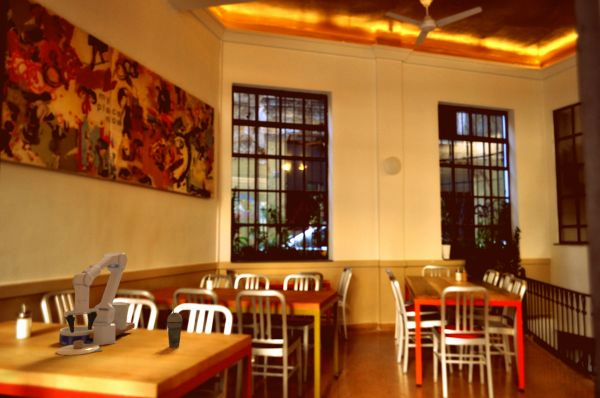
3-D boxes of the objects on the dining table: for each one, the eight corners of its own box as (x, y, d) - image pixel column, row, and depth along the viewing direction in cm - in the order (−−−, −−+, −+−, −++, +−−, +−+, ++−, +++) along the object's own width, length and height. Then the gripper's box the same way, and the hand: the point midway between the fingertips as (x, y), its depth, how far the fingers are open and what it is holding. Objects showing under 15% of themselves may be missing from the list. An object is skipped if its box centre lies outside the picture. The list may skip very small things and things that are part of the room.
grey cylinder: (107, 326, 234) (108, 302, 235) (126, 326, 237) (128, 302, 238) (105, 330, 225) (107, 305, 226) (126, 329, 228) (127, 305, 229)
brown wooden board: (82, 338, 217) (82, 331, 217) (112, 327, 246) (112, 320, 247) (108, 339, 216) (109, 332, 216) (135, 328, 246) (135, 322, 246)
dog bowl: (95, 343, 216) (96, 330, 217) (59, 346, 208) (60, 333, 209) (92, 337, 229) (93, 325, 230) (58, 339, 222) (59, 327, 222)
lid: (97, 343, 212) (97, 335, 212) (100, 352, 197) (101, 343, 198) (56, 348, 204) (56, 339, 205) (56, 357, 189) (56, 347, 190)
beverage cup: (177, 349, 206) (178, 304, 208) (163, 348, 208) (163, 303, 209) (185, 345, 213) (185, 302, 215) (170, 344, 215) (171, 301, 216)
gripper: (94, 297, 211) (93, 327, 210) (61, 301, 201) (60, 332, 200) (101, 299, 207) (100, 329, 206) (67, 302, 196) (66, 334, 195)
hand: (80, 331), depth 202 cm, fingers open, 7 cm apart
